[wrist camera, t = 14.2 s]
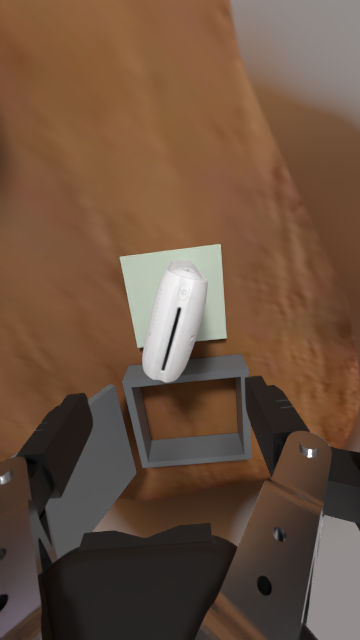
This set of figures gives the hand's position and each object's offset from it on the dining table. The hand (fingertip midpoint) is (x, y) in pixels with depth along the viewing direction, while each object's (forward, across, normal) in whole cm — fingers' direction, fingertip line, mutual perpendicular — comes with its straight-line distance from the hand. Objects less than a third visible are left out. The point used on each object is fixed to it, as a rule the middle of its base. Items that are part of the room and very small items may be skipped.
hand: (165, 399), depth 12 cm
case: (+20, 0, +16) cm, 26 cm away
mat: (+20, 0, 0) cm, 20 cm away
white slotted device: (+19, 0, 0) cm, 19 cm away
